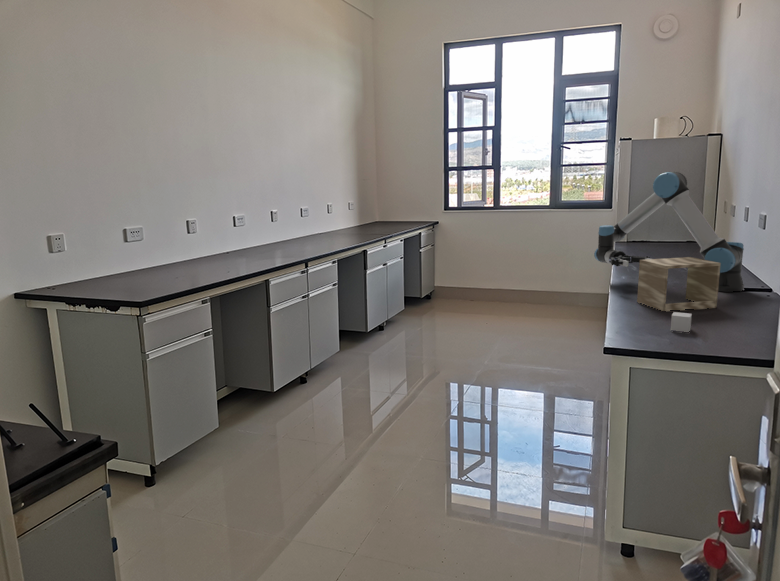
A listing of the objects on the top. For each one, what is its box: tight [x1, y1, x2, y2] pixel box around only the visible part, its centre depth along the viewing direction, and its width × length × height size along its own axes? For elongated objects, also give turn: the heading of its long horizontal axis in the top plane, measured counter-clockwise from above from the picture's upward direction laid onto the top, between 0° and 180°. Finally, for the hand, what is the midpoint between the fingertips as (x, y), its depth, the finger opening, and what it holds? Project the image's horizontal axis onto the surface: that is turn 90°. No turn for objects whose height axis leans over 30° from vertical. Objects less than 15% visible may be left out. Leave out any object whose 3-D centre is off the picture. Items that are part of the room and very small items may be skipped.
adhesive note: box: [670, 311, 693, 333], centre depth 207 cm, size 6×6×6 cm
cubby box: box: [636, 256, 721, 312], centre depth 244 cm, size 25×18×19 cm
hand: (640, 263), depth 268 cm, fingers open, 13 cm apart
